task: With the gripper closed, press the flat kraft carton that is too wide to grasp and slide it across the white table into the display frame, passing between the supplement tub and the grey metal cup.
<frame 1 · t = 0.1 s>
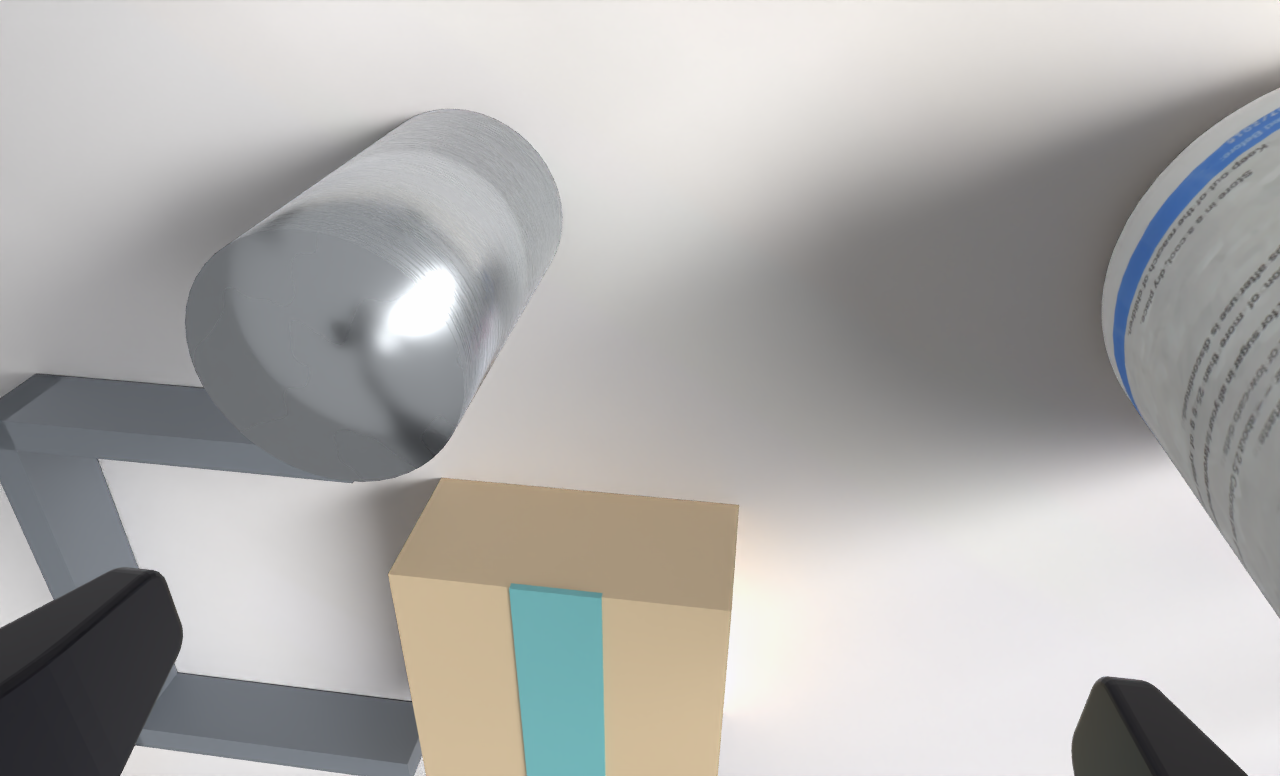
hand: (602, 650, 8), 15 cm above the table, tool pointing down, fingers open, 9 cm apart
display frame: (255, 565, 30), on the table
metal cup: (464, 210, 22), on the table
carton: (592, 595, 29), on the table
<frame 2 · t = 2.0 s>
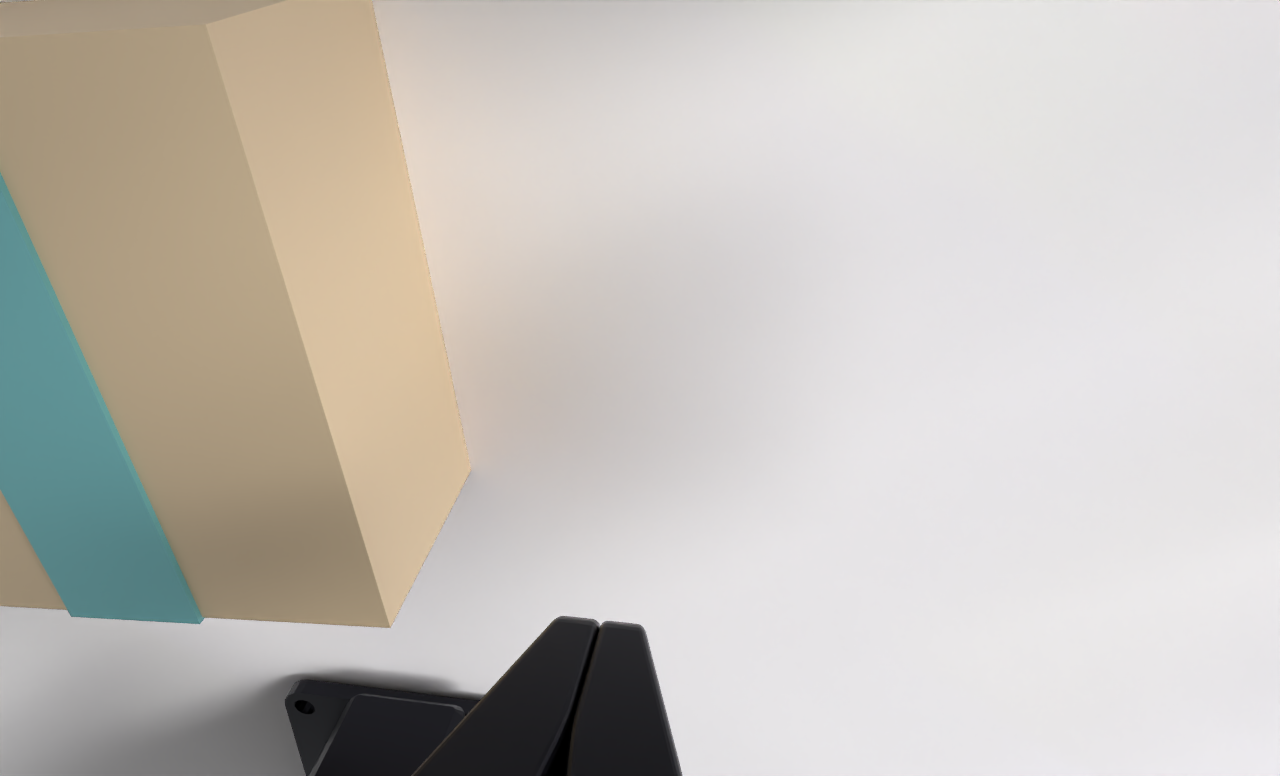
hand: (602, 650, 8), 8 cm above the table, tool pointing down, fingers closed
carton: (200, 258, 16), on the table
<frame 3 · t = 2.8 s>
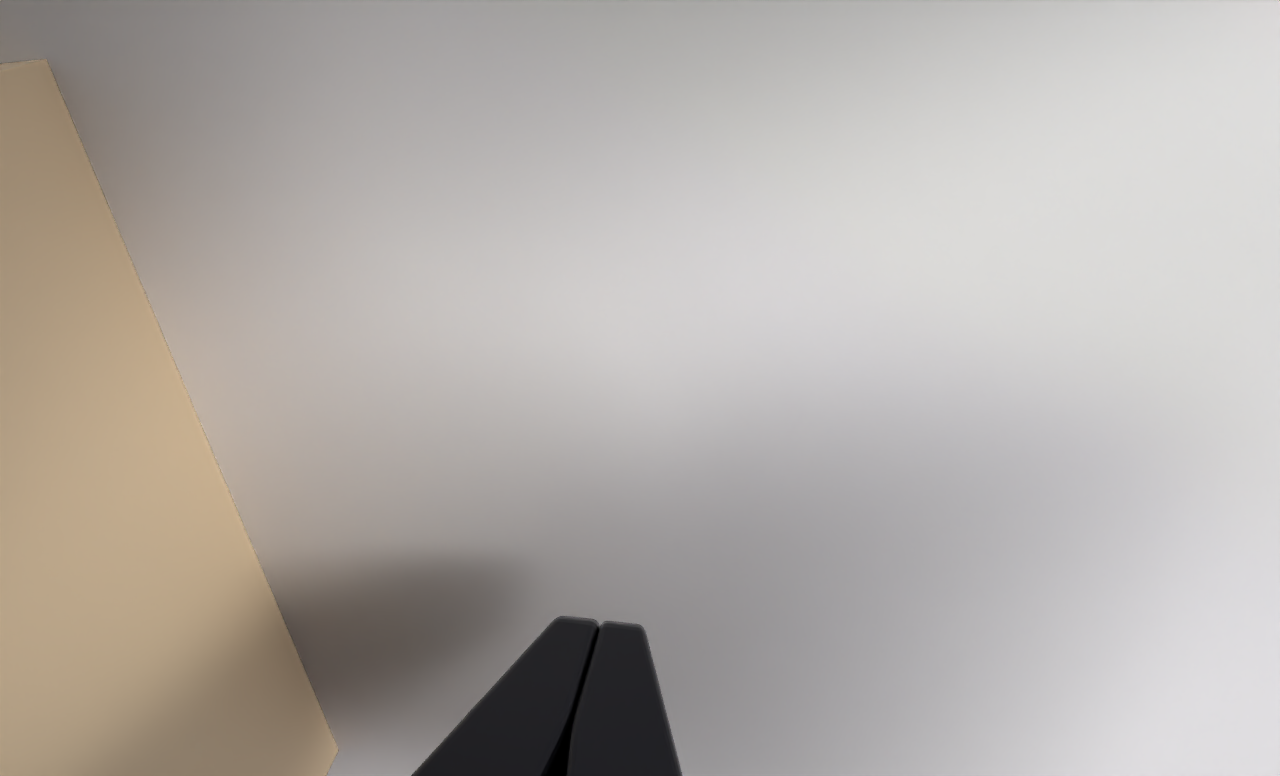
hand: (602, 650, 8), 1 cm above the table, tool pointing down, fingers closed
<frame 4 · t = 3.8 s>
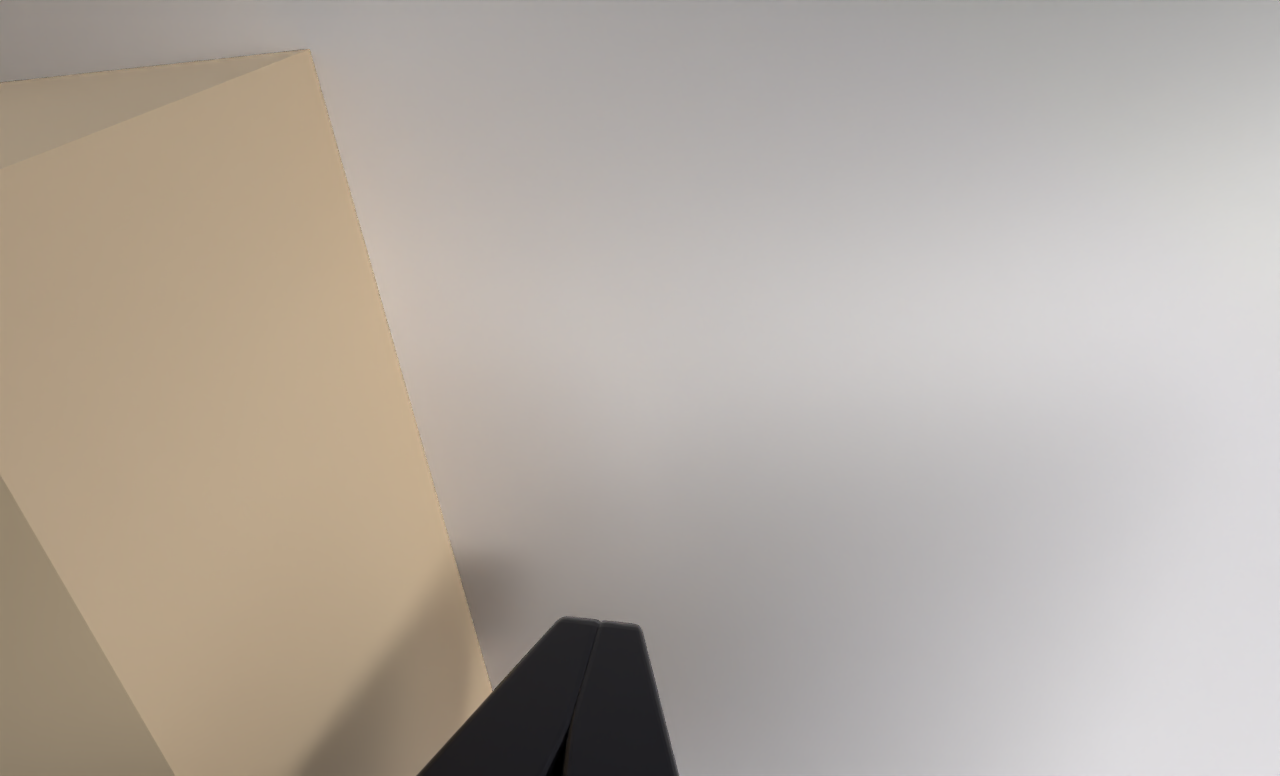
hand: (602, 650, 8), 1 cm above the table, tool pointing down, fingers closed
carton: (87, 479, 10), on the table
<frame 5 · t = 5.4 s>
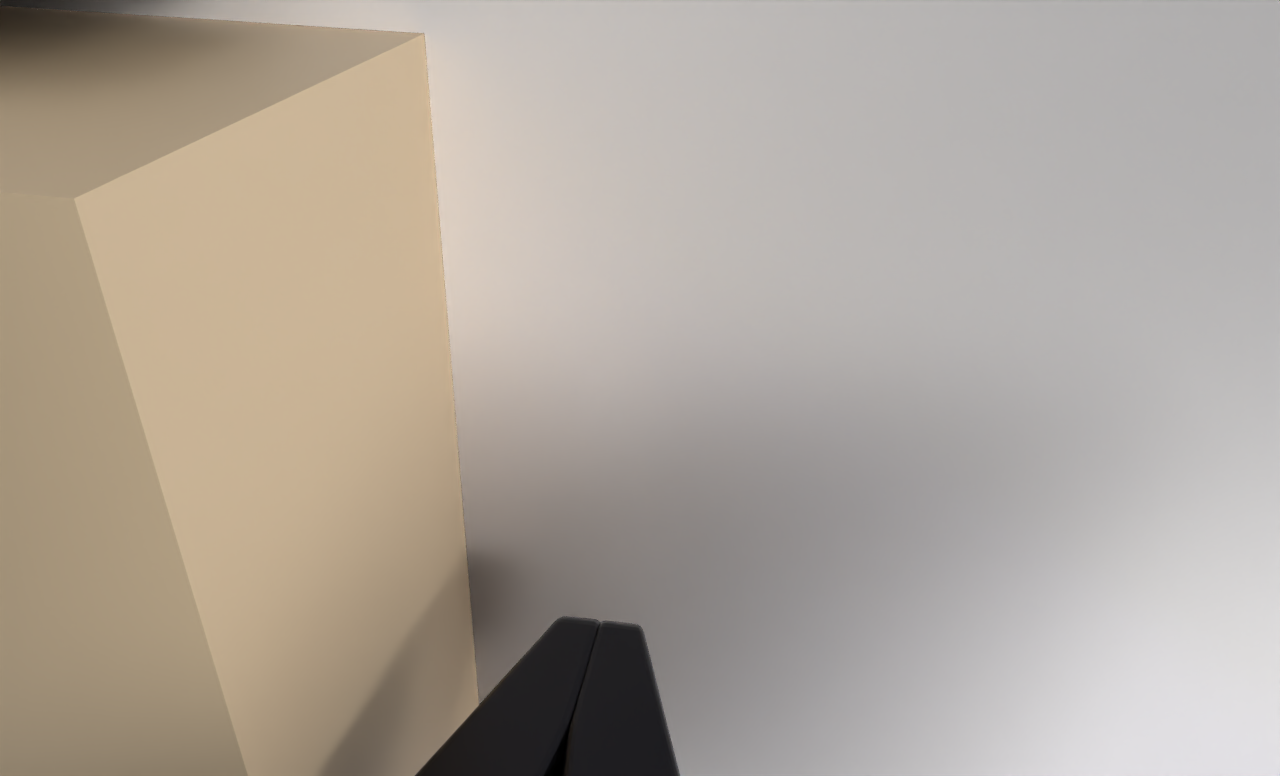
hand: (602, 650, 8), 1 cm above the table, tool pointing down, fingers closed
carton: (91, 419, 10), on the table
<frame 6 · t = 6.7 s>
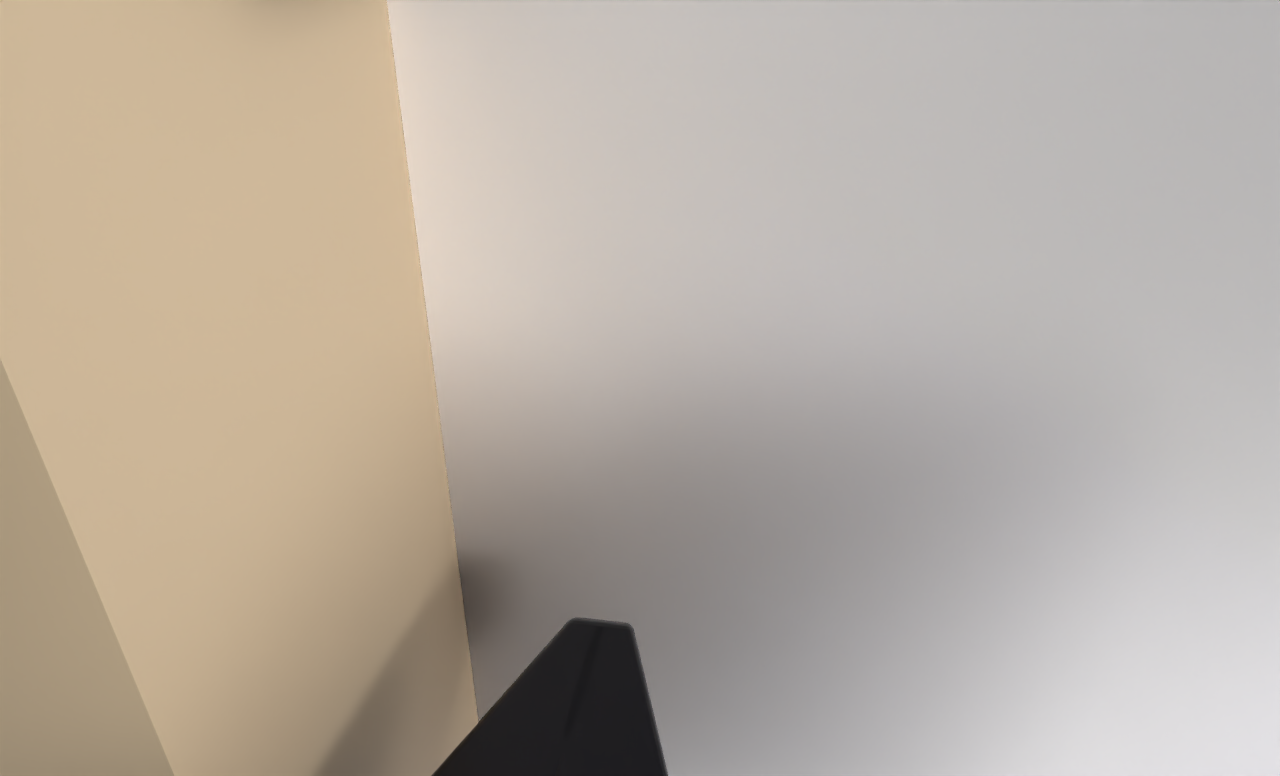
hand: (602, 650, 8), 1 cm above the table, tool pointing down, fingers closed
carton: (33, 393, 9), on the table, touching display frame, gripper
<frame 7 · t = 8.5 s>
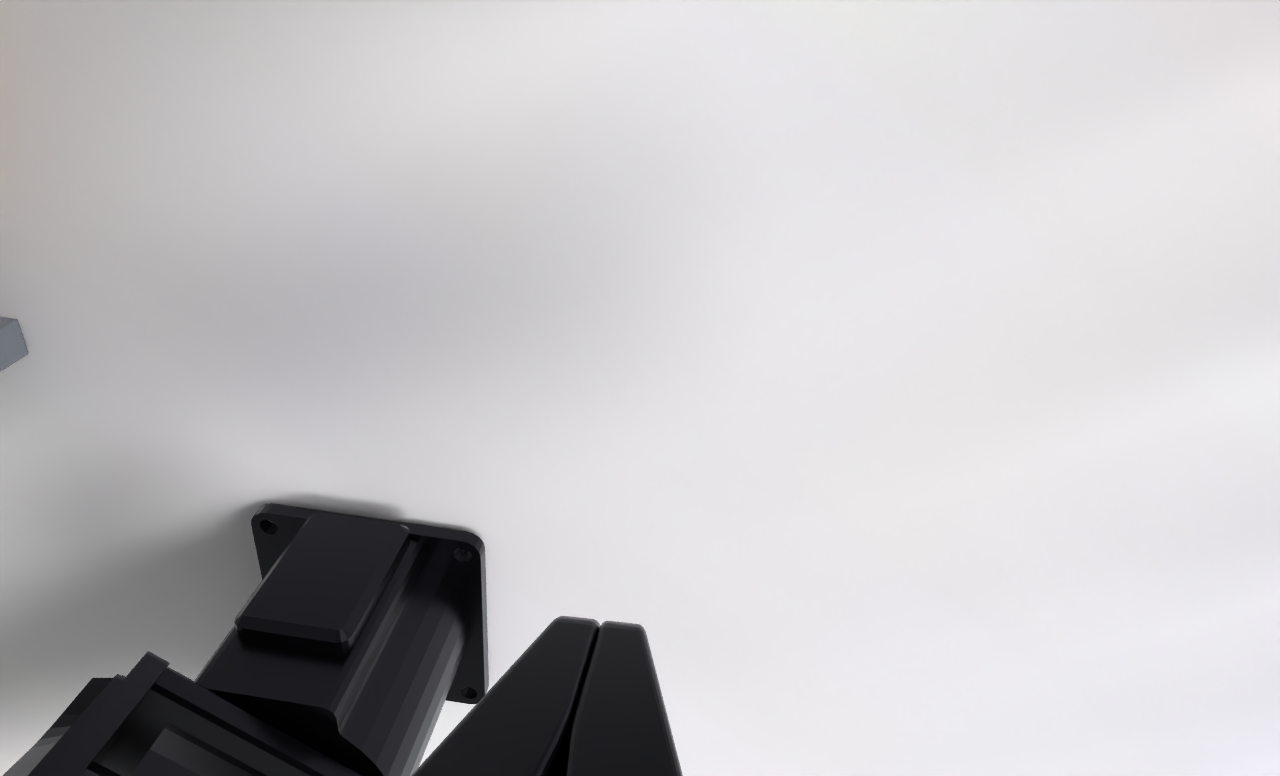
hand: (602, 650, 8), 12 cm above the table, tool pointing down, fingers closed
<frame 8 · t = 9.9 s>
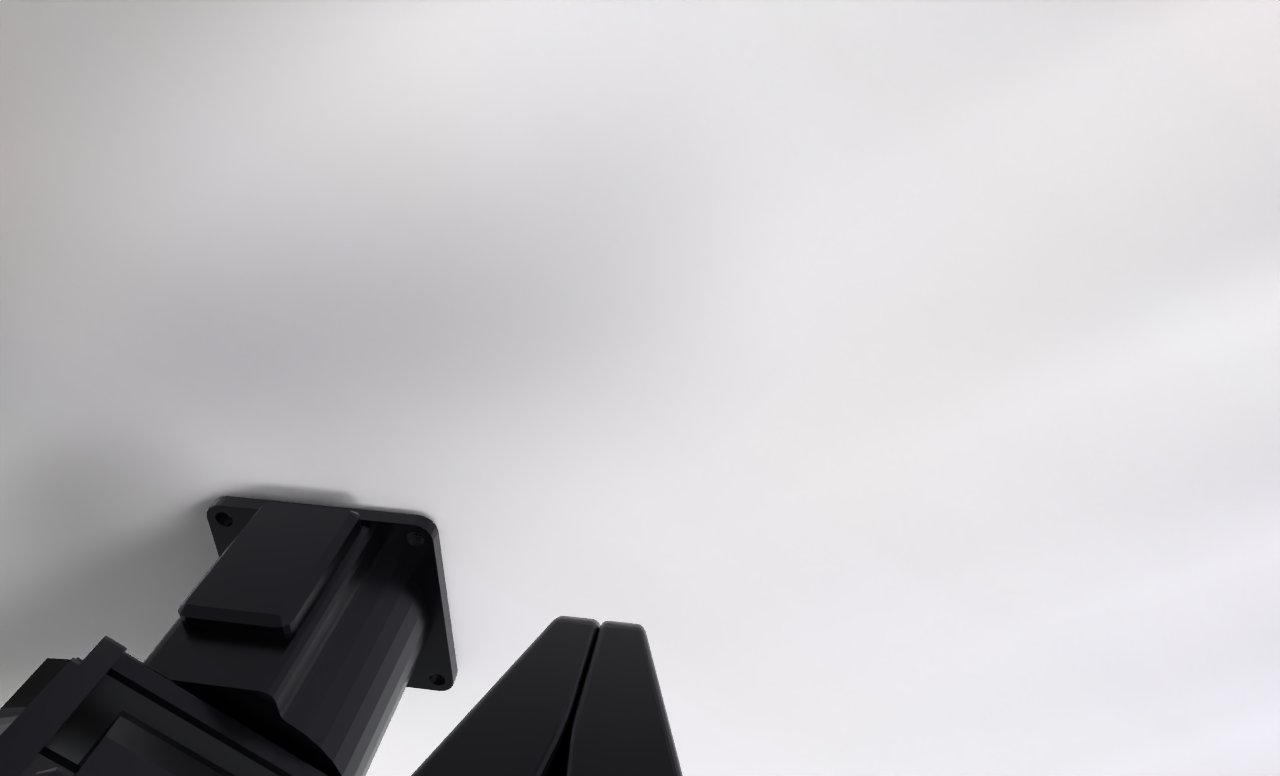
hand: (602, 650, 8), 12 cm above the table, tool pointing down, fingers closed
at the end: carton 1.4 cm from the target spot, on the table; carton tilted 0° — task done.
